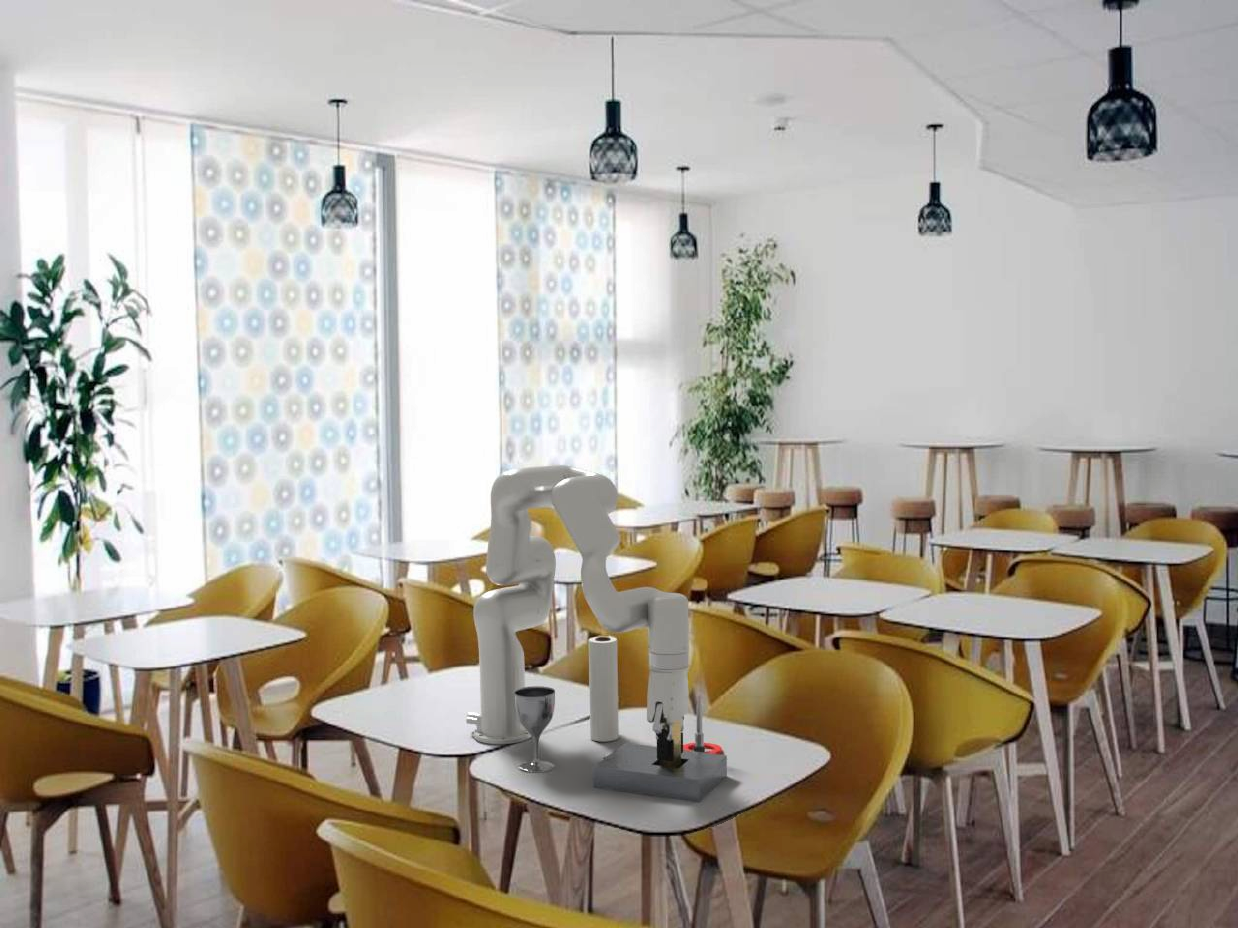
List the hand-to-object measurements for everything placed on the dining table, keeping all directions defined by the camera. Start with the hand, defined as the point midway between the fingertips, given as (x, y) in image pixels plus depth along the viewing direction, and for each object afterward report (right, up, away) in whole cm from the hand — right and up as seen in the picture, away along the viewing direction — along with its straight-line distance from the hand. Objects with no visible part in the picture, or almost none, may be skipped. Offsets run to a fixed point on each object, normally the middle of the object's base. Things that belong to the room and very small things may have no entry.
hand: (670, 755), depth 221 cm
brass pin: (0, -2, 0) cm, 2 cm away
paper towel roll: (-12, -4, +29) cm, 32 cm away
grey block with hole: (-2, -5, +1) cm, 6 cm away
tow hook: (+7, -4, +18) cm, 20 cm away
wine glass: (-26, -5, +11) cm, 28 cm away
